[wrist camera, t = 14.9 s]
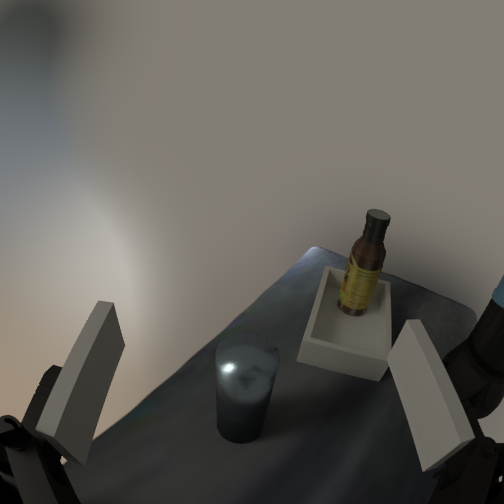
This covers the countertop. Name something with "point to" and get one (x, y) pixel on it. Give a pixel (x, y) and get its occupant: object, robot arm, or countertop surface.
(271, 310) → the countertop surface
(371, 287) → the sauce bottle
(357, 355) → the tray
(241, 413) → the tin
